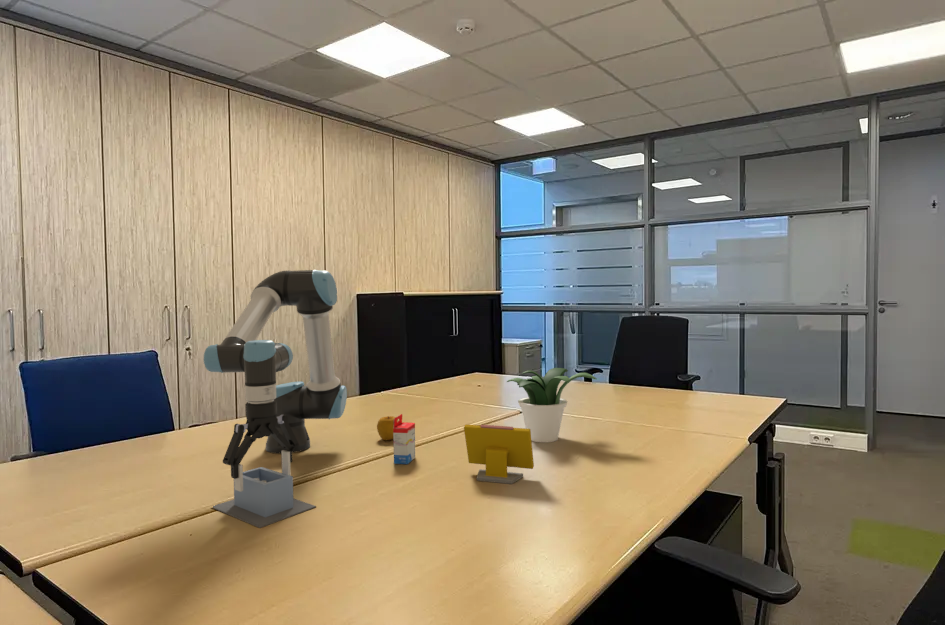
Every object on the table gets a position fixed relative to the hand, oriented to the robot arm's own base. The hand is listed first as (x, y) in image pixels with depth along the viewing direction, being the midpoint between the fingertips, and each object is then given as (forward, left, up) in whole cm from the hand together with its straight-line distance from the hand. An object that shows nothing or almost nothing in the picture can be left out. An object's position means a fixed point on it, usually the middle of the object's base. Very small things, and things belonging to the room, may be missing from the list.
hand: (263, 482), depth 146 cm
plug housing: (0, 0, -6) cm, 6 cm away
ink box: (+1, +51, -7) cm, 51 cm away
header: (0, 0, -6) cm, 6 cm away
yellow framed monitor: (+36, +54, -7) cm, 65 cm away
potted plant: (+26, +103, -6) cm, 106 cm away
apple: (-23, +67, -7) cm, 71 cm away
